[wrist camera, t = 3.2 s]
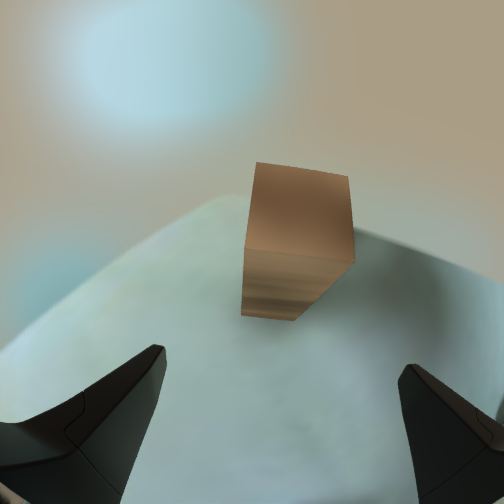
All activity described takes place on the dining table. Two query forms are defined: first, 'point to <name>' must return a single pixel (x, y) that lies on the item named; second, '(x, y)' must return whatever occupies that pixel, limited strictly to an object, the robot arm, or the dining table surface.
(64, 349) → the dining table surface
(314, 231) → the walnut block
